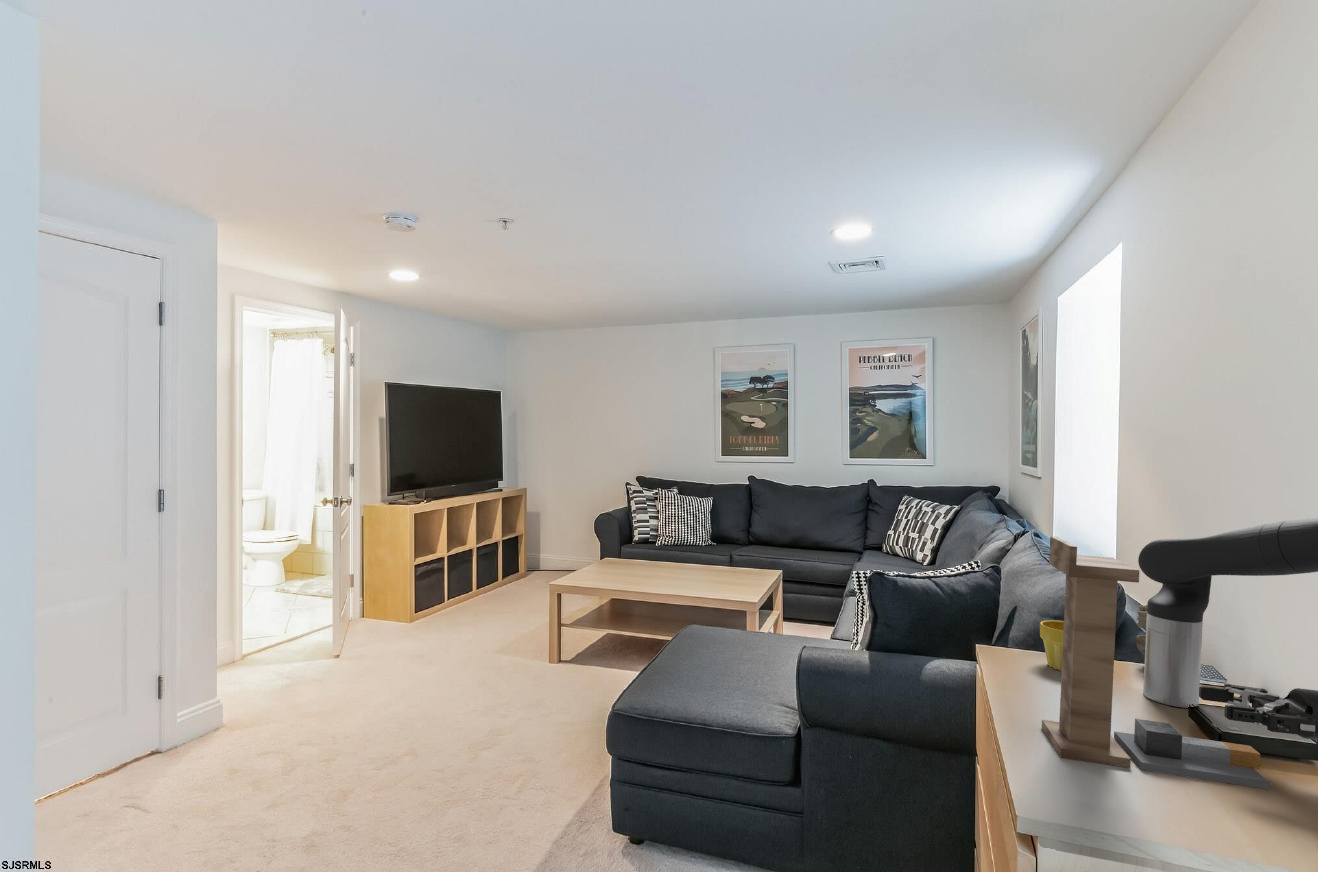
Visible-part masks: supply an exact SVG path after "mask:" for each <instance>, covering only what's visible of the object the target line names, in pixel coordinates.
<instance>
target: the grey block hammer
mask: <svg viewBox="0 0 1318 872" xmlns="http://www.w3.org/2000/svg"><path fill="white" fill-rule="evenodd" d="M1133 734H1134V742H1135V743H1136V745H1137V746H1138V747H1139V748H1140V749H1141V750H1142V751H1143V752H1144V753H1145V755H1151V756H1157V757H1164V758H1171V759H1177V760H1181V758H1186V759H1193V760H1199V761H1206V762H1213V763H1219V764H1226V765H1233V766H1239V767H1246V768H1253V769H1255V770H1260V769H1261V767H1260V766H1261V753H1260V752H1258V751H1257V750H1256V749H1254V748H1253V746H1251V745H1248V744H1239V743H1232V742H1225V741H1217V740H1214V739H1213V740H1211V739H1205V738H1204V739H1203V738H1197V737H1191V736H1186V735H1185V736H1183V735H1182V733H1180V732H1179V731H1178V730H1177V729H1176V728H1175V727H1174V726H1173V725H1171V724H1170V723H1169V722H1162V721H1155V720H1148V719H1140V718H1139V719H1138V718H1134V733H1133Z"/></svg>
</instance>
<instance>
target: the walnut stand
mask: <svg viewBox="0 0 1318 872" xmlns="http://www.w3.org/2000/svg"><path fill="white" fill-rule="evenodd" d="M1048 557H1049V559H1048V564H1049V565H1050V566H1052V567H1053V568H1055V569H1056V570H1057V571H1059V572H1061V573H1062V574H1065V590H1064V591H1065V592H1064V614H1063V615H1064V616H1063V621H1064V632H1063V654H1062V671H1061V678H1060V679H1061V680H1060V703H1059V720H1058V721H1054V720H1049V719H1042V720H1041V729H1042V731H1043V732H1044V734H1045V735H1046V737H1047V739H1048V740H1049V742H1050V743H1051V745H1052V744H1053V745H1052V746H1053V748H1054V749H1055V750H1056V752H1057V754H1058V755H1059V757H1060V758H1061V757H1063V759H1069V760H1075V761H1081V762H1082V761H1083V762H1089V763H1095V764H1101V765H1110V766H1116V767H1121V768H1128V769H1131V767H1132V766H1131V765H1132V763H1131V761H1132V759H1131V757H1130V756H1129V755H1128V754H1127V753H1126V752H1125V750H1124V749H1123V748H1122V747H1121V746H1120V745H1119V744H1118V742H1117V741H1116V740H1115V739H1114V737H1113V736H1112V733H1111V731H1112V714H1113V713H1112V711H1113V710H1112V709H1113V690H1114V689H1113V687H1114V673H1115V672H1114V670H1115V668H1114V667H1115V651H1116V650H1115V647H1116V627H1117V626H1116V625H1117V624H1116V623H1117V621H1116V620H1117V602H1118V582H1127V583H1138V584H1139V583H1140V570H1139V569H1138V568H1136V567H1133V566H1131V565H1129V564H1127V563H1125V562H1122V561H1120V560H1118V559H1116V558H1114V557H1107V556H1106V557H1105V556H1097V555H1096V556H1094V555H1093V556H1092V555H1082V554H1078V546H1076V545H1074V544H1072V543H1070V542H1068V541H1066V540H1064V539H1062V538H1059V537H1058V536H1052V535H1050V538H1049V556H1048Z"/></svg>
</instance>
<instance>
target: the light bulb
mask: <svg viewBox="0 0 1318 872" xmlns="http://www.w3.org/2000/svg"><path fill="white" fill-rule="evenodd" d="M1138 608H1139V610H1137V612H1136V613H1137V615H1138V616H1137V617H1136V619H1137V621H1138V622H1137V627H1138V628H1141V629H1143V630H1144V631H1145V632H1146V623H1147V604H1146V605H1139V606H1138ZM1145 646H1146V633H1144V634H1138V635H1137V634H1136V648H1137V650H1138V651H1139V653H1140V656H1141V663H1142V664H1143V665H1145Z"/></svg>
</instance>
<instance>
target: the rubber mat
mask: <svg viewBox="0 0 1318 872" xmlns="http://www.w3.org/2000/svg"><path fill="white" fill-rule="evenodd" d="M1113 739H1114V740H1115V741H1116V742H1117V743H1118V744H1119V746H1120V747H1121V748H1122V749H1123V750H1124V751H1125V753H1126V754H1127V755H1128V756H1129V757H1130V758H1131V761H1133V762H1134V764H1135V765H1136V766H1137V767H1138V768H1139V769H1140V770H1141V771H1148V772H1154V773H1162V774H1166V775H1167V774H1168V775H1174V776H1179V777H1187V778H1192V779H1198V780H1206V781H1213V782H1219V783H1224V784H1225V783H1227V784H1233V785H1240V786H1245V787H1253V788H1259V789H1266V790H1269V789H1270V781H1269V780H1268V779H1267V778H1266V777H1264V776H1263V775H1262V774H1261V773H1260V772H1258V770H1257V769H1253V768H1246V767H1239V766H1233V765H1226V764H1219V763H1213V762H1206V761H1199V760H1193V759H1186V758H1181V760H1177V759H1171V758H1164V757H1157V756H1151V755H1145V753H1144V752H1143V751H1142V750H1141V749H1140V748H1139V747H1138V746H1137V745H1136V743H1135V742H1134V733H1126V732H1120V731H1113Z"/></svg>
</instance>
